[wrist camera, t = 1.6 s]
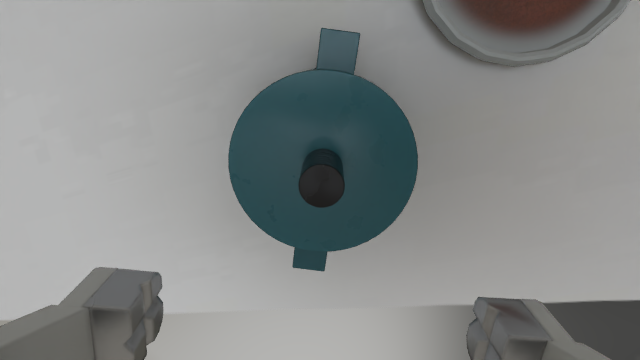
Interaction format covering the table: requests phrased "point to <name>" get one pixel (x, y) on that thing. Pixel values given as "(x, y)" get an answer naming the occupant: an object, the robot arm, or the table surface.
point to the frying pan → (522, 26)
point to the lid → (323, 160)
